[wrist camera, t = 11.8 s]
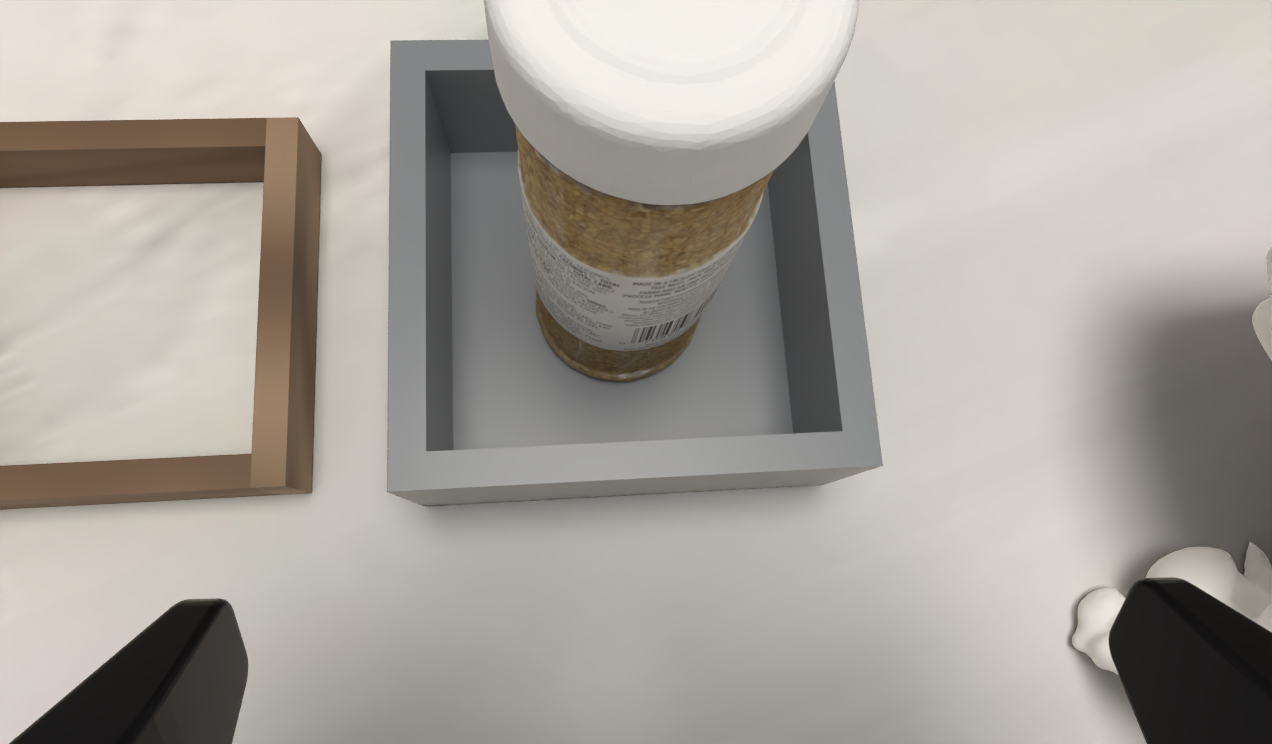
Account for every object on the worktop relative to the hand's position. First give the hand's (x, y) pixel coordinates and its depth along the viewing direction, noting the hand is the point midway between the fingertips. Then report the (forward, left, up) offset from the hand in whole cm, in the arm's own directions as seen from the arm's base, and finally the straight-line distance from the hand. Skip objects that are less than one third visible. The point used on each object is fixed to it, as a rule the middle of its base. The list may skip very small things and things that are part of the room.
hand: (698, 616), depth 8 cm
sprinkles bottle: (+7, 0, -13) cm, 15 cm away
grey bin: (+8, 0, -14) cm, 16 cm away
